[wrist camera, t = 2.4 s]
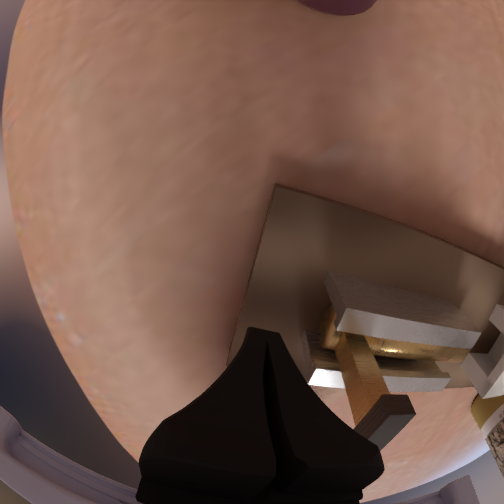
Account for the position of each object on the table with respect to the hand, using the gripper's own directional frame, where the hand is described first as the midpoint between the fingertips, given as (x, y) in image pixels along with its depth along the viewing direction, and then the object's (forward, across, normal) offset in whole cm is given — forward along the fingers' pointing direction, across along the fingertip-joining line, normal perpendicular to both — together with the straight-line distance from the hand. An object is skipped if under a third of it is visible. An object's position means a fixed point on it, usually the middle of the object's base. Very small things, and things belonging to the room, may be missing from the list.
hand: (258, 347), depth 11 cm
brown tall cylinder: (+6, -33, +9) cm, 35 cm away
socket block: (+5, -21, 0) cm, 22 cm away
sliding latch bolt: (+4, -9, 0) cm, 10 cm away
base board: (+6, -13, 0) cm, 14 cm away
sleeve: (+5, -8, 0) cm, 9 cm away
